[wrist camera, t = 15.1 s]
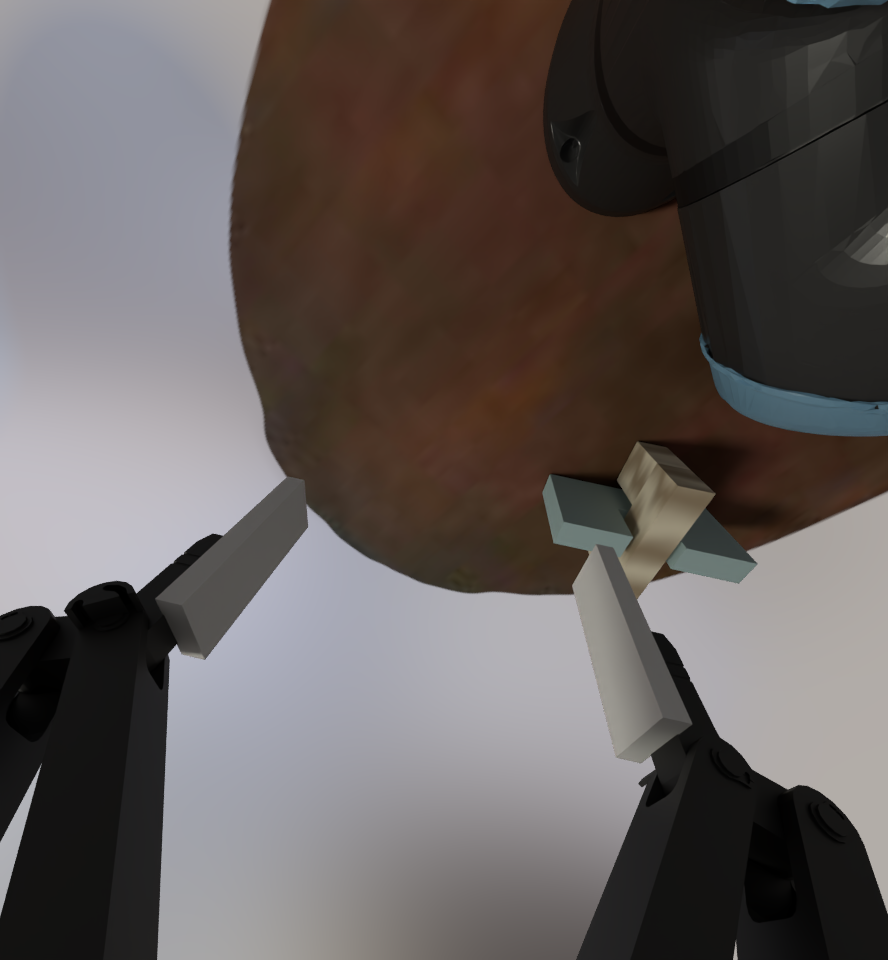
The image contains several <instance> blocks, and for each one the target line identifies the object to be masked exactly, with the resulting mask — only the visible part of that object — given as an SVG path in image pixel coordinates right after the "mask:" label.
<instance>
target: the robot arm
mask: <svg viewBox="0 0 888 960" xmlns="http://www.w3.org/2000/svg"><path fill="white" fill-rule="evenodd" d="M543 125H544V137H545V144H546V149H547V153H548V157H549V161H550V164H551V167H552V169H553V171H554V174H555V176H556V178H557V180H558V181H559V183H560V185H561V186H562V188H563V189H564V190H565V192H566V193H567V194H568V195H569V196H570V197H571V198H572V199H573V200H574V201H575V202H576V203H578V204H579V205H580V206H582V207H583V208H585V209H587V210H589V211H591V212H594V213H597V214H600V215H604V216H612V217H623V216H631V215H636V214H640V213H643V212H646V211H649V210H651V209H654V208H656V207H658V206H660V205H662V204H664V203H666V202H668V201H670V200H672V199H674V198H676V199H677V203H678V214H679V219H680V224H681V229H682V234H683V240H684V245H685V250H686V255H687V260H688V265H689V270H690V275H691V281H692V286H693V291H694V296H695V301H696V306H697V311H698V316H699V322H700V327H701V332H702V333H701V336H700V345H701V349H702V352H703V354H704V356H705V357H706V359H707V360H708V361H709V363H710V367H711V371H712V375H713V379H714V382H715V386H716V389H717V391H718V393H719V394H720V396H721V397H722V398H723V399H724V400H726V401H727V402H728V403H729V404H730V406H731V407H732V408H733V409H735V410H736V411H738V412H739V413H741V414H743V415H745V416H747V417H749V418H751V419H753V420H755V421H758V422H761V423H764V424H767V425H770V426H774V427H778V428H782V429H787V430H792V431H799V432H805V433H813V434H822V435H835V436H888V0H572V1H571V3H570V5H569V8H568V10H567V12H566V15H565V17H564V20H563V22H562V25H561V28H560V31H559V34H558V37H557V41H556V44H555V48H554V51H553V55H552V59H551V63H550V67H549V71H548V76H547V82H546V88H545V96H544V109H543ZM307 528H308V520H307V509H306V494H305V482H304V480H301V479H297V478H292V477H287V478H286V479H285V480H284V481H282V482H281V483H280V484H279V485H278V486H277V487H276V488H275V489H274V490H273V491H272V492H271V493H269V494H268V495H267V496H266V497H265V498H264V499H263V500H262V501H261V502H260V503H259V504H257V505H256V506H255V507H254V508H253V509H252V510H251V511H250V512H249V513H248V514H247V515H246V516H244V517H243V518H242V519H241V520H240V521H239V522H238V523H237V524H236V525H235V526H234V527H233V528H231V529H230V530H229V531H228V532H227V533H226V534H225V535H224V536H221V535H217V534H211V535H209V536H207V537H205V538H203V539H201V540H199V541H197V542H196V543H195V544H194V545H192V546H191V547H190V548H189V549H188V550H187V551H185V552H184V555H181V556H180V557H178V558H177V559H176V560H175V561H174V563H173V564H170V565H169V566H168V567H167V568H166V569H165V570H163V571H162V572H161V573H160V574H159V575H157V576H156V577H155V578H154V579H153V580H152V581H150V583H148V584H147V585H146V586H145V587H144V588H142V589H141V590H140V591H139V592H138V593H136V592H135V591H134V589H133V587H132V586H131V585H130V584H128V583H127V582H121V581H113V582H106V583H102V584H99V585H96V586H93V587H91V588H89V589H87V590H85V591H83V592H82V593H80V594H78V595H77V596H76V597H75V598H74V599H72V600H71V601H70V602H69V603H68V605H67V606H66V608H65V610H64V611H65V613H66V614H67V616H63V617H55V616H54V615H53V614H52V612H51V611H50V610H49V609H48V608H45V607H43V606H29V607H24V608H20V609H16V610H13V611H11V612H8V613H6V614H3V615H1V616H0V841H1V840H2V838H3V836H4V834H5V832H6V830H7V828H8V826H9V824H10V822H11V821H12V819H13V817H14V815H15V813H16V811H17V809H18V807H19V805H20V803H21V802H22V800H23V797H24V796H25V794H26V792H27V790H28V788H29V786H30V784H31V783H32V781H33V779H34V777H35V775H36V773H37V771H38V769H39V767H40V765H41V764H42V765H41V768H40V772H39V776H38V779H37V783H36V787H35V791H34V795H33V798H32V802H31V805H30V809H29V813H28V817H27V820H26V824H25V828H24V831H23V835H22V839H21V842H20V846H19V850H18V854H17V857H16V861H15V864H14V868H13V872H12V876H11V879H10V883H9V887H8V890H7V894H6V898H5V902H4V905H3V909H2V912H1V916H0V960H157V948H158V924H159V923H158V922H159V900H160V899H159V898H160V877H161V875H160V874H161V852H162V829H163V804H164V781H165V756H166V734H167V732H166V731H167V710H168V686H169V685H168V684H169V662H170V660H169V656H168V653H169V652H170V651H171V650H172V649H173V648H174V646H175V645H176V644H177V645H178V647H179V649H180V652H181V654H183V655H187V656H191V657H195V658H200V659H204V660H205V659H206V658H207V656H208V655H209V654H210V653H211V651H212V650H213V649H214V647H215V646H216V645H217V643H218V642H219V641H220V640H221V638H222V637H223V636H224V634H225V633H226V632H227V630H228V629H229V628H230V627H231V625H232V624H233V623H234V621H235V620H236V619H237V617H238V616H239V615H240V614H241V613H242V611H243V610H244V609H245V607H246V606H247V605H248V603H249V602H250V601H251V600H252V598H253V597H254V596H255V595H256V593H257V592H258V591H259V589H260V588H261V586H263V584H264V583H265V581H266V580H267V579H268V578H269V577H270V575H271V574H272V573H273V571H274V570H275V569H276V567H277V566H278V565H279V564H280V562H281V561H282V560H283V558H284V557H285V556H286V555H287V553H288V552H289V551H290V549H291V548H292V547H293V546H294V544H295V543H296V542H297V540H298V539H299V538H300V537H301V535H302V534H303V533H304V531H305V530H306V529H307ZM572 587H573V590H574V594H575V598H576V602H577V606H578V610H579V614H580V618H581V622H582V626H583V630H584V634H585V638H586V642H587V645H588V649H589V653H590V657H591V661H592V665H593V669H594V673H595V677H596V681H597V685H598V689H599V693H600V697H601V700H602V705H603V709H604V712H605V716H606V720H607V724H608V728H609V732H610V736H611V740H612V744H613V748H614V752H615V755H616V757H617V758H620V759H624V760H629V761H633V762H637V763H642V762H643V761H645V760H646V759H647V758H648V757H650V756H651V757H652V760H653V762H654V766H655V770H654V771H653V772H651V773H650V774H648V775H647V776H645V777H644V778H643V779H642V780H641V781H640V782H639V785H640V786H641V787H643V786H644V785H646V784H647V785H646V788H645V790H644V793H643V795H642V798H641V800H640V803H639V805H638V808H637V810H636V813H635V815H634V817H633V820H632V822H631V825H630V827H629V830H628V832H627V835H626V837H625V840H624V842H623V845H622V848H621V850H620V852H619V855H618V857H617V860H616V862H615V865H614V867H613V870H612V872H611V875H610V877H609V879H608V882H607V884H606V887H605V889H604V892H603V894H602V897H601V899H600V902H599V904H598V907H597V909H596V912H595V914H594V917H593V919H592V922H591V924H590V927H589V929H588V931H587V934H586V936H585V939H584V941H583V944H582V946H581V949H580V951H579V954H578V956H577V959H576V960H733V956H734V949H735V942H736V944H737V957H738V960H888V914H887V911H886V908H885V905H884V902H883V899H882V896H881V893H880V890H879V887H878V884H877V881H876V878H875V875H874V872H873V870H872V867H871V864H870V861H869V858H868V855H867V852H866V849H865V846H864V844H863V842H862V840H861V838H860V836H859V834H858V832H857V830H856V829H855V827H854V826H853V825H852V823H851V822H850V821H849V819H848V818H847V816H846V815H845V814H844V813H843V812H842V811H841V810H840V809H839V808H838V807H837V806H836V805H835V804H834V803H833V802H832V801H831V800H829V799H828V798H826V797H825V796H824V795H823V794H821V793H820V792H819V791H816V790H815V789H812V788H810V787H808V786H802V785H798V786H796V787H793V788H791V789H789V790H787V789H785V788H783V787H782V786H780V785H778V784H777V783H775V782H773V781H771V780H769V779H768V778H766V777H764V776H762V775H760V774H759V773H757V772H755V771H754V770H752V769H751V768H750V766H749V765H748V763H747V762H746V761H745V759H744V758H743V757H742V755H741V754H740V753H739V752H738V751H737V750H736V749H735V748H734V747H733V746H732V745H730V744H729V743H727V742H726V741H724V740H723V739H721V738H720V737H719V735H718V734H717V732H716V730H715V728H714V726H713V724H712V722H711V720H710V718H709V716H708V714H707V712H706V710H705V708H704V706H703V704H702V701H701V700H700V698H699V695H698V693H697V691H696V689H695V687H694V685H693V683H692V682H690V677H689V675H688V673H687V671H686V669H685V668H684V667H683V666H684V665H683V663H682V661H681V659H680V657H679V655H678V653H677V651H676V649H675V648H674V647H673V645H672V644H671V643H670V642H669V641H668V640H667V638H666V637H665V636H664V635H663V634H660V633H656V632H651V630H650V628H649V626H648V624H647V621H646V619H645V617H644V615H643V612H642V610H641V608H640V606H639V603H638V601H637V599H636V597H635V594H634V592H633V590H632V588H631V586H630V583H629V581H628V579H627V577H626V574H625V572H624V570H623V568H622V565H621V563H620V561H619V559H618V557H617V554H616V552H615V550H614V548H613V547H608V546H604V545H599V544H596V545H595V546H594V548H593V550H592V552H591V554H590V555H589V557H588V559H587V561H586V562H585V564H584V566H583V568H582V569H581V571H580V573H579V575H578V576H577V578H576V580H575V582H574V584H573V585H572Z"/></svg>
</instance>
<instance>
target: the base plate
mask: <svg viewBox="0 0 888 960" xmlns="http://www.w3.org/2000/svg"><path fill="white" fill-rule="evenodd" d="M543 497H544V502H545V506H546V511H547V515H548V520H549V524H550V528H551V533H552V537H553V542H554V543H556V544H561V545H565V546H570V547H574V548H579V549H583V550H588V551H592V550H593V548H594V546H595V545H596V544H599V545H604V546H608V547H613V548H614V550H615V552H616V554H617V557H621V555H622V554H623V552H624V551H625V549H626V547H627V546H628V544H629V543H630V541H631V540H632V538H633V536H632V534H631V532H630V530H629V528H628V526H627V525H626V523H625V521H624V518H625V516H626V515H627V513H628V511H629V510H630V508H631V506H632V504H631V502H630V501H629V499H628V497H627V496H626V494H625V493H624V491H623V489H618V488H613V487H609V486H604V485H599V484H594V483H590V482H585V481H580V480H576V479H571V478H566V477H562V476H557V475H552V474H550V475H549V478H548V480H547V483H546V485H545V488H544V490H543ZM666 561H667V563H668V565H669V566H670V568H671V569H675V570H679V571H684V572H688V573H693V574H698V575H702V576H707V577H712V578H716V579H720V580H726V581H729V582H734V583H740V582H741V581H742V580H743V578H745V577H746V575H747V574H748V573H749V572H750V571H751V570H752V569H753V568H754V567H755V566H756V565H757V563H756V562H755V561H754V560H753V558H751V556H750V555H749V554H748V553H747V552H746V551H745V550H744V549H743V548H742V547H741V546H740V545H739V544H738V542H737V541H736V540H735V539H734V538H733V537H732V536H731V535H730V534H729V533H728V532H727V531H726V530H725V529H724V528H723V526H722V525H721V524H720V523H719V522H718V521H717V520H716V519H715V518H714V517H713V516H712V515H711V514H710V513H709V512H708V510H707V509H706V508H705V509H704V510H703V512H702V513H701V514H700V516H699V517H698V518H697V520H696V521H695V522H694V524H693V525H692V526H691V528H690V529H689V530H688V532H687V533H686V534H685V536H684V537H683V538H682V540H681V541H680V543H679V544H678V545H677V547H676V548H675V549H674V551H673V552H672V553H671V555H670V556H669V557H668V559H667V560H666Z"/></svg>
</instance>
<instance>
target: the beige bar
mask: <svg viewBox="0 0 888 960" xmlns="http://www.w3.org/2000/svg"><path fill="white" fill-rule="evenodd" d="M617 481H618V483H619V484H620V486H621V488H622V489H623V491H624V493H625V494H626V496H627V497H628V499H629V501H630V502H631V504H632V506H631V508H630V510H629V511H628V513H627V515H626V516H625V518H624V521H625V523H626V525H627V526H628V528H629V530H630V532H631V534H632V536H633V538H632V540H631V541H630V543H629V544H628V546H627V547H626V549H625V551H624V552H623V554H622V555H621V557H618V559H619V561H620V563H621V565H622V568H623V570H624V572H625V574H626V577H627V579H628V581H629V583H630V586H631V588H632V590H633V592H634V594H635V597H636V599H638V597H639V596H640V595H641V593H642V592H643V591H644V589H645V588H646V587H647V585H648V584H649V583H650V581H651V580H652V579H653V577H654V576H655V575H656V573H657V572H658V571H659V569H660V568H661V567H662V565H663V564H664V563H665V561H666V560H667V559H668V557H669V556H670V555H671V553H672V552H673V551H674V549H675V548H676V547H677V545H678V544H679V543H680V541H681V540H682V538H683V537H684V536H685V534H686V533H687V532H688V530H689V529H690V528H691V526H692V525H693V524H694V522H695V521H696V520H697V518H698V517H699V516H700V514H701V513H702V512H703V510H704V509H705V508H706V506H707V505H708V504H709V502H710V501H711V500H712V498H713V497H714V496H715V493H714V492H713V491H712V490H711V489H710V488H709V487H708V486H707V485H706V484H705V483H704V482H703V481H702V480H701V479H700V478H699V477H698V476H697V475H695V474H694V473H693V472H692V471H691V470H690V469H689V468H688V467H687V466H686V465H685V464H684V463H683V462H682V461H681V460H680V459H679V458H678V457H676V456H675V455H674V454H673V453H672V452H671V451H670V450H669V449H668V448H667V447H662V446H658V445H653V444H648V443H643V442H638V441H637V443H636V445H635V447H634V449H633V450H632V452H631V454H630V456H629V458H628V460H627V462H626V464H625V465H624V467H623V469H622V471H621V473H620V475H619V477H618V479H617ZM588 552H589V555H590V554H591V552H592V551H588Z"/></svg>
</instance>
